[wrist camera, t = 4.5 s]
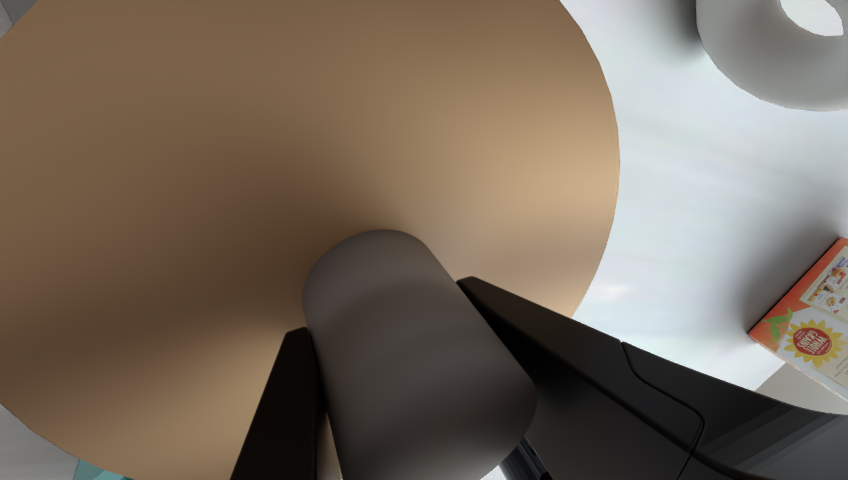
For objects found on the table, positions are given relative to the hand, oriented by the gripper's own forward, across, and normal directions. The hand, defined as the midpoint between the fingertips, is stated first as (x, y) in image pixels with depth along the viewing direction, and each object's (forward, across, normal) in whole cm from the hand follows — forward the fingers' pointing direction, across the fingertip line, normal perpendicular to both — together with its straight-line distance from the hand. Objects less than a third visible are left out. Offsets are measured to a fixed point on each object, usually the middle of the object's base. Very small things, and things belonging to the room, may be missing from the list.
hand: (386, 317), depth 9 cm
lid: (+2, 0, 0) cm, 2 cm away
